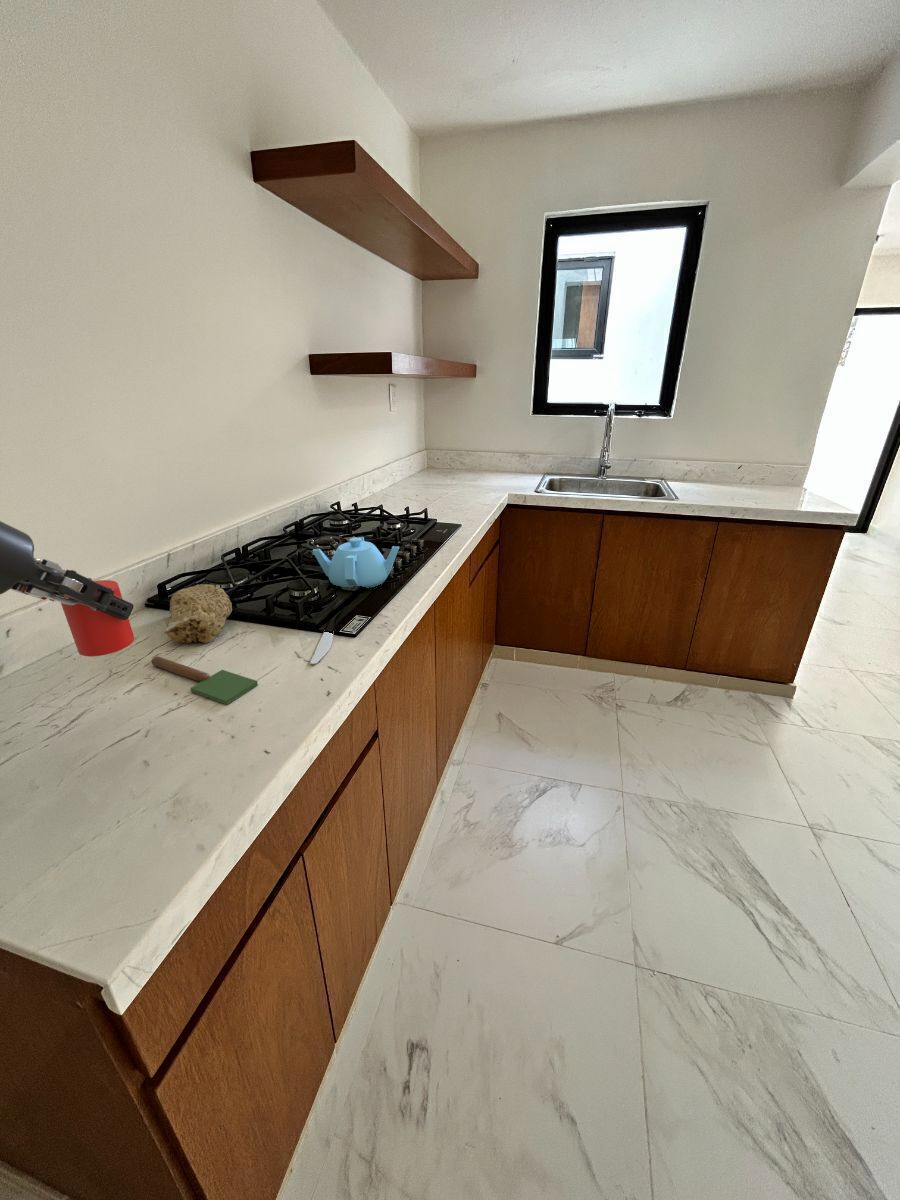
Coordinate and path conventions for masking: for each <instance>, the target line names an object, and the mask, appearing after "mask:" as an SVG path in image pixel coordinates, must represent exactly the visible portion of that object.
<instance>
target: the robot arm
mask: <svg viewBox="0 0 900 1200" xmlns="http://www.w3.org/2000/svg"><path fill="white" fill-rule="evenodd" d="M34 553H35V544H34V541H33V539H32V538H31V536H30V535H29V534H27V533H26V532H24V531H22V530H20V529H18V528H15V527H14V526H11V525H10V524H7V523H5V522H3V521H1V520H0V595H3V594H4V593H7V592H8V591H9V590H11V591H14V592H15V593H20V594H23V595H27V596H31V597H33V598H36V599H39V600H43V601H45V600H47V599H48V601H50V602H57V603H60V604H61V603H63V604H66V605H69V606H72V605H75V604H80V605H83V606H86V607H88V608H91V610H94V611H96V610H97V611H101V612H103V613H106V614H108V615H111V616H113V617H116V618H118V619H121V620H127V619H128V618H129V617H130V615H131V613H132V612H133V610H134V607H135V606H134V604H133V603H132V602H130V601H128V600H125V599H123V598H122V599H121V598H119V597H116V596H114V593H115V591H113V590H112V589H111V588H108V587H105V586H103V585H101V584H99V583H97V582H95V581H96V580H93V579H92V578H91V579H92V580H91V579H88V578H89V577H87V576H84V575H82V574H80V573H78V572H77V571H76V570H74V569H71V570H70V569H65V568H62V566H61V565H60V564H59V563H56V562H53V561H51V560H49V559H45V558H42V560H40V559H37V558H36V557H35V556H34ZM95 592H96V593H95ZM60 596H61V597H60ZM63 596H68V597H69V598H63ZM129 619H130V618H129Z"/></svg>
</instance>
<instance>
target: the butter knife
mask: <svg viewBox="0 0 900 1200" xmlns="http://www.w3.org/2000/svg"><path fill="white" fill-rule="evenodd" d="M333 640H334V633H333V634H332V633H329V632H324V631H323V633H322V635H321V637H320V640H319V642H318V643H317V646H316V648H315V650H314V653H313V655H312V657H311V659H310V662H309V663H310V664H311V665H315V664H317V663H318V662H320V661H321V660H322V658H324V657H325V655H326V654H327V653H328V652H329V651H330V650H331V647H332V645H333Z"/></svg>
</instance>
